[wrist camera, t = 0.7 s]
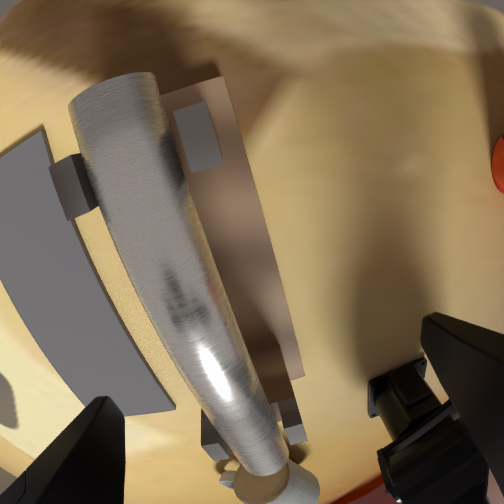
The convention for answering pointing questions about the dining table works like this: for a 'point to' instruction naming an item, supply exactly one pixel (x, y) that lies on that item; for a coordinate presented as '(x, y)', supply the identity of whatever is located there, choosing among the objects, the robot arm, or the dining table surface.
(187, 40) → the dining table surface
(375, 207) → the dining table surface
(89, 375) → the grey flat tapered piece
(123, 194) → the steel rod
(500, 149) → the paper cup
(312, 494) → the ceramic mug
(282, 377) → the hook stand
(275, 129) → the dining table surface
